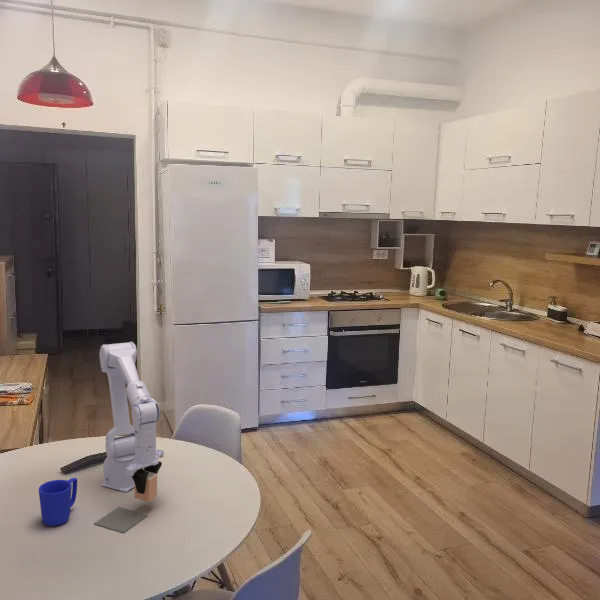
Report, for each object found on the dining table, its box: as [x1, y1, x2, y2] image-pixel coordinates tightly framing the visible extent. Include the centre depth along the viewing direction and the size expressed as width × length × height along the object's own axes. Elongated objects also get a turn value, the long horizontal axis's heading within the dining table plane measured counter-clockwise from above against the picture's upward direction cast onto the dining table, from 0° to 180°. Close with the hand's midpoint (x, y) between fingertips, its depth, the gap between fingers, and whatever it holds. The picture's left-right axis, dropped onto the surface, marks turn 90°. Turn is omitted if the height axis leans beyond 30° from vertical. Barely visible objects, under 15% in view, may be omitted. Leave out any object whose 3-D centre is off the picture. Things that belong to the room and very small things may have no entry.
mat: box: [93, 506, 148, 534], centre depth 160 cm, size 10×10×1 cm
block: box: [134, 471, 158, 503], centre depth 165 cm, size 5×4×7 cm
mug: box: [38, 477, 78, 527], centre depth 159 cm, size 8×12×10 cm
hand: (145, 489), depth 166 cm, fingers closed on block, 3 cm apart
